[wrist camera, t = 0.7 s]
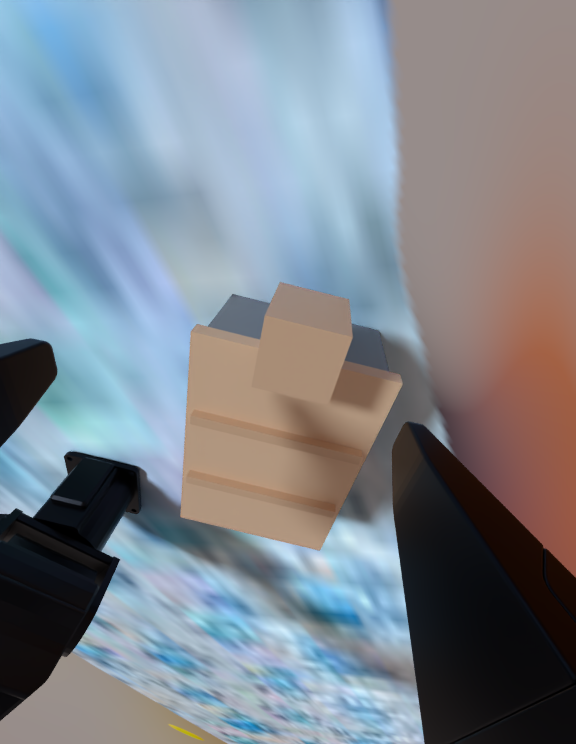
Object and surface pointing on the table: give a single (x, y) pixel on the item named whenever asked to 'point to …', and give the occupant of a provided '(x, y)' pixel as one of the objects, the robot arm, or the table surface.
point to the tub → (249, 319)
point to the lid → (280, 420)
